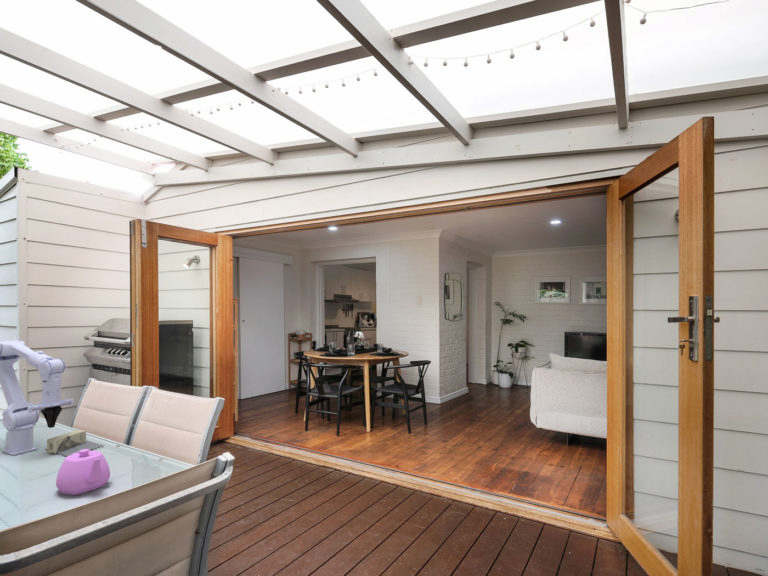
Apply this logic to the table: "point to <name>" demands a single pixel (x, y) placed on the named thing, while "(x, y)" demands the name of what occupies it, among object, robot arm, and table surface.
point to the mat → (79, 448)
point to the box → (66, 441)
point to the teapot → (82, 472)
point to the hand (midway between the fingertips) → (51, 427)
